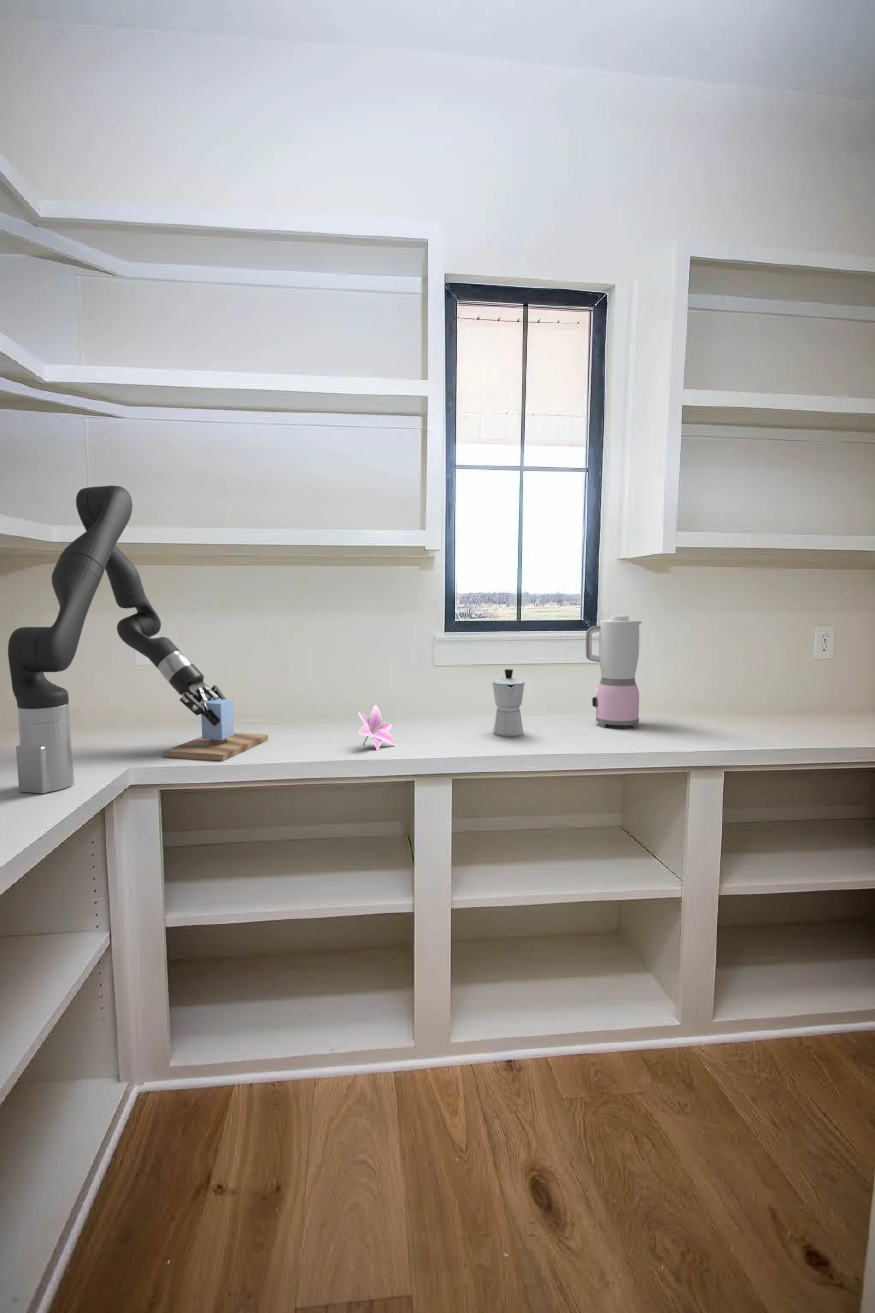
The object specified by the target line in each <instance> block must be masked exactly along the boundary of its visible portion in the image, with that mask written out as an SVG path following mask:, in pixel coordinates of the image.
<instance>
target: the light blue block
mask: <svg viewBox="0 0 875 1313" xmlns="http://www.w3.org/2000/svg"><path fill="white" fill-rule="evenodd" d="M206 704H207V705H208V706H209V707H210V710H212V711H213V712H214V714H215V715H216V716H217V717H218V718H219V719H220V722H219V723H218V724H217V725H216V726H213V725H212V724H211V723H210V722H209V720H208V719H207V718H206V717H205V716H202V715H201V714H200V716H201V737H202V739H213V740H224V739H226V738H228V737H231V736H233V735H234V733H235V726H234V724H235V723H234V700H233V699H226V700H222V699H221V698H220V699H218V700H213V698H212V699H211V700H209V701H208V703H206ZM202 706H203V705H202ZM203 707H204V706H203Z"/></svg>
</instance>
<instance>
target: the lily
mask: <svg viewBox="0 0 875 1313" xmlns="http://www.w3.org/2000/svg"><path fill="white" fill-rule="evenodd" d="M357 714H358V715H359V716H358V717H360V719H361V721H362V722H363V725H362V727H361V728H360V729H359V731H358V735H361V736H366V737H365V739H364V741H363V743H362V744H363V745H365V743H366V742H367V740H368V738H369V737H370V738H372V742H373V744H374V747H375V749H376V751H379V750H380V748H381V746H382V742H385V743H388V744H389V745H393V746H394V747H396V746H397V745H398V744H397V742H396V740H395V738H394V736H393V735H392V734H391V733H390V732H389V731H390V730H391V728H392V726H393V725H392V723H391V722H388V721H383V717H382V714H381V710H380V708H379V707H378V706H377V705H376V704H375V705H373V707H372V710H371V713H370V715H367V714H365V713H362V712H360V711H359V712H357Z"/></svg>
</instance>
